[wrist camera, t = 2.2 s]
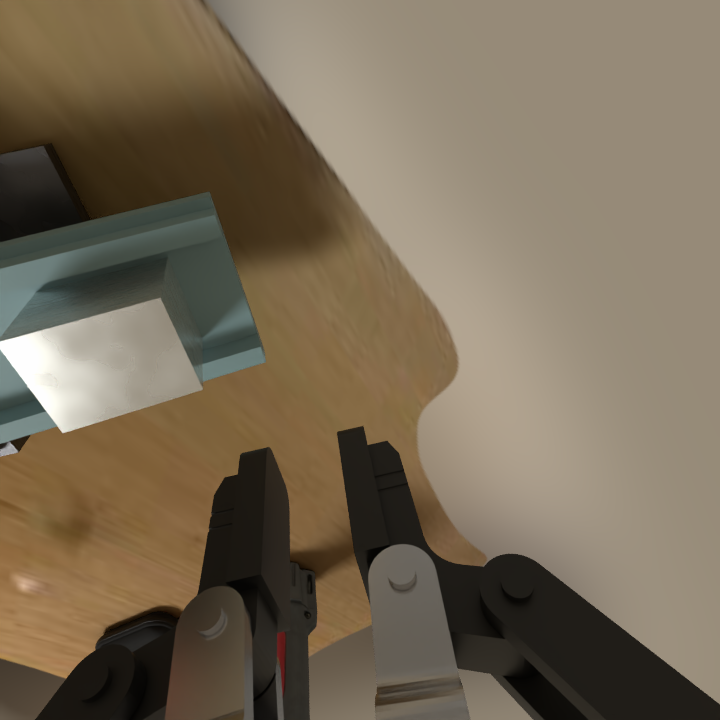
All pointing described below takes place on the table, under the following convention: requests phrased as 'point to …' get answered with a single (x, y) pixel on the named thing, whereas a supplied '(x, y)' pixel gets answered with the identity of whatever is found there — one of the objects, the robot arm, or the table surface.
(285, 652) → the flashlight
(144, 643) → the carrying case or bag
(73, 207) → the beam stand
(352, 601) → the table surface
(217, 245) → the seesaw beam
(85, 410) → the steel slider
